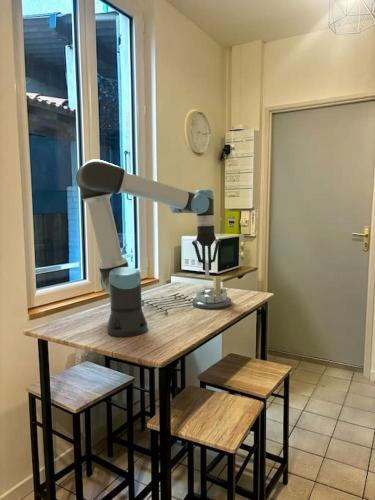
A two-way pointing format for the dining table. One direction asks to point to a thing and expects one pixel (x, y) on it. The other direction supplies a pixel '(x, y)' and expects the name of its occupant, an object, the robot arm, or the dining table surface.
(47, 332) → the dining table surface
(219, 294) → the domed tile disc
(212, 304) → the housing
